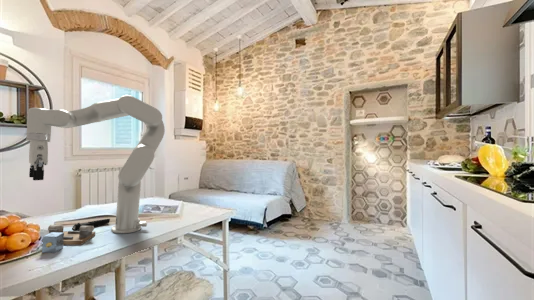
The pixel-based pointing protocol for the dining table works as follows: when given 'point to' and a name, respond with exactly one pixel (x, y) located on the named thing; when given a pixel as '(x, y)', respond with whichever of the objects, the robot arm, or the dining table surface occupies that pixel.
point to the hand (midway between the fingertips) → (36, 178)
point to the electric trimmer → (91, 224)
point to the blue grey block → (52, 242)
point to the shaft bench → (74, 234)
